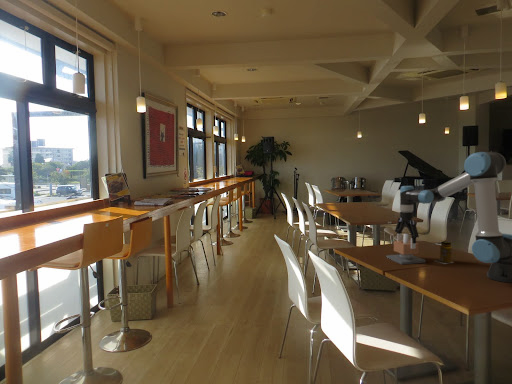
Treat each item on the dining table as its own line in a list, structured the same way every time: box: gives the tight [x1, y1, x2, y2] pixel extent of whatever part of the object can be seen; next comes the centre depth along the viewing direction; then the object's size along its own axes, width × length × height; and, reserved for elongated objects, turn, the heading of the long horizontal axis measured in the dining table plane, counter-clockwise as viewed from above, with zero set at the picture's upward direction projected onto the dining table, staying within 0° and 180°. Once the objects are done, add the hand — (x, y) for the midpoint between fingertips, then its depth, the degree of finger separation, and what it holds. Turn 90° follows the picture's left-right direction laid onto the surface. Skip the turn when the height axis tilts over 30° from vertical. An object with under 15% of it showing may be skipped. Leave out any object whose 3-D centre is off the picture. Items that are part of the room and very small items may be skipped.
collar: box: [393, 240, 419, 255], centre depth 227 cm, size 10×10×6 cm
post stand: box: [385, 233, 427, 265], centre depth 227 cm, size 16×16×16 cm
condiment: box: [435, 240, 455, 265], centre depth 223 cm, size 7×8×12 cm
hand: (406, 246), depth 227 cm, fingers open, 13 cm apart
